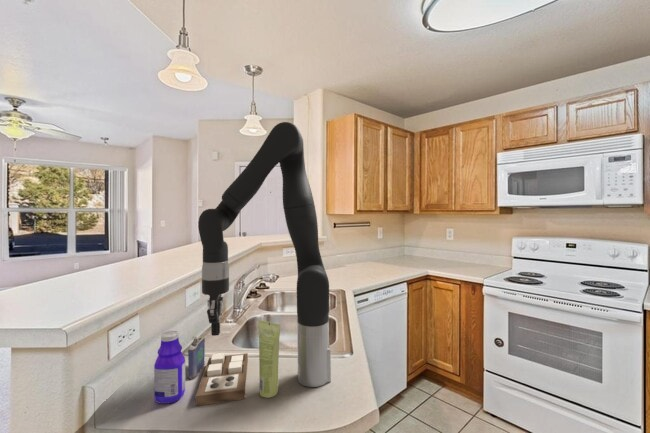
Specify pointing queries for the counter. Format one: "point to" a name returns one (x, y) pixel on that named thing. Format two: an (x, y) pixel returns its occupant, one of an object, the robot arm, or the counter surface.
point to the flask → (196, 357)
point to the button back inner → (237, 358)
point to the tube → (268, 357)
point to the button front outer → (214, 370)
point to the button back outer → (218, 358)
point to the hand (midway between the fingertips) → (215, 334)
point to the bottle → (169, 369)
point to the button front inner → (235, 367)
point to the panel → (222, 384)
